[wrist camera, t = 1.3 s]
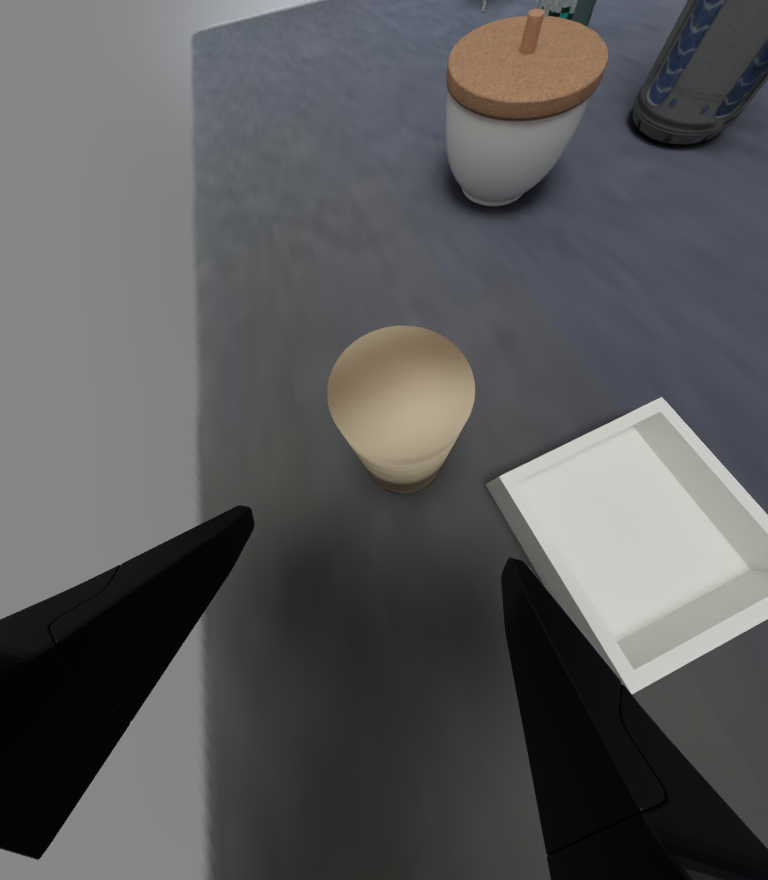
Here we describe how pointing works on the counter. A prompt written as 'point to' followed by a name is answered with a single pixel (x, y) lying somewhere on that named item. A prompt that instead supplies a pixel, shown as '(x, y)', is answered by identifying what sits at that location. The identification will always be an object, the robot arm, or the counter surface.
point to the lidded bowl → (517, 101)
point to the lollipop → (484, 5)
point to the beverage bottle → (705, 71)
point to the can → (569, 9)
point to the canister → (401, 403)
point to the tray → (642, 541)
